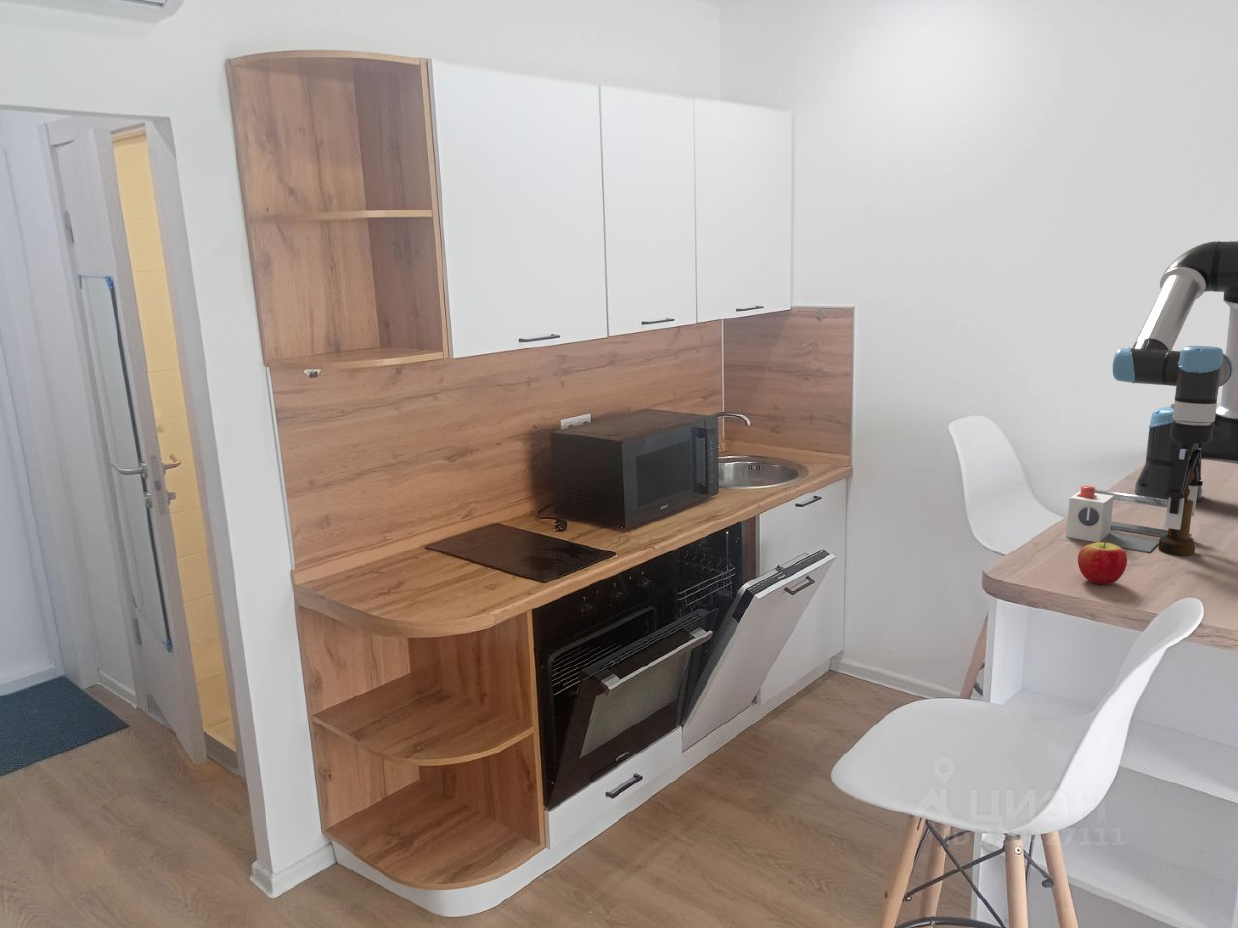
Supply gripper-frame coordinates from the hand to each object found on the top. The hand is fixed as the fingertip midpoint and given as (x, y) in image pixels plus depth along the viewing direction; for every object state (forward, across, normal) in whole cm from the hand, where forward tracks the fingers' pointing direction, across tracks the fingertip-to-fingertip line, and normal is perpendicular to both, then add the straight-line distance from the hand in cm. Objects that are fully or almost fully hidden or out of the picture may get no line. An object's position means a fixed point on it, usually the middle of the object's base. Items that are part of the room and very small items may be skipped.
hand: (1179, 521), depth 200 cm
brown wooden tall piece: (+7, 0, 0) cm, 7 cm away
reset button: (0, 0, -19) cm, 19 cm away
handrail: (+6, -11, -10) cm, 16 cm away
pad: (+7, 0, -9) cm, 11 cm away
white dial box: (+7, 0, -18) cm, 19 cm away
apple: (+7, +31, -7) cm, 32 cm away
